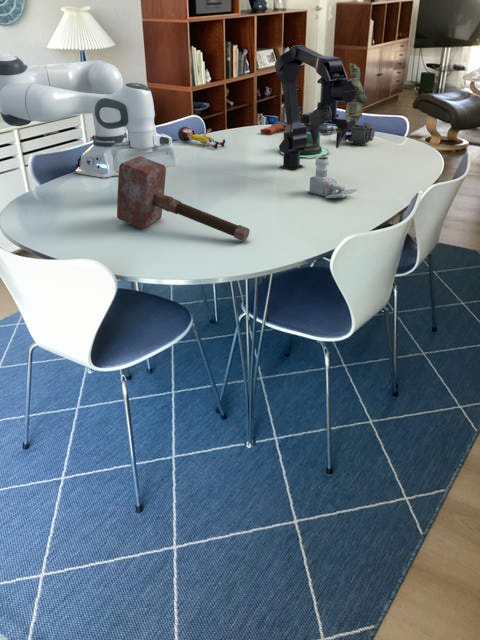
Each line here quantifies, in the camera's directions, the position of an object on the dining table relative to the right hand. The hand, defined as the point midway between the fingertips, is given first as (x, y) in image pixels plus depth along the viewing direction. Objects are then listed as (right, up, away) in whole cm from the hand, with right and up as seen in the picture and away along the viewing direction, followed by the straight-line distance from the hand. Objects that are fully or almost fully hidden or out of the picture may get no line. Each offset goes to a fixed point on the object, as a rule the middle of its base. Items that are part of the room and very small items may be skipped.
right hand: (326, 146), depth 194 cm
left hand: (-60, -17, -15) cm, 64 cm away
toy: (+21, +17, +52) cm, 59 cm away
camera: (0, -20, -10) cm, 22 cm away
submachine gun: (-4, +28, +71) cm, 77 cm away
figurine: (-48, +19, +58) cm, 77 cm away
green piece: (-3, +10, +41) cm, 42 cm away
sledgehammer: (-46, -36, -35) cm, 68 cm away
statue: (+25, +31, +75) cm, 85 cm away
